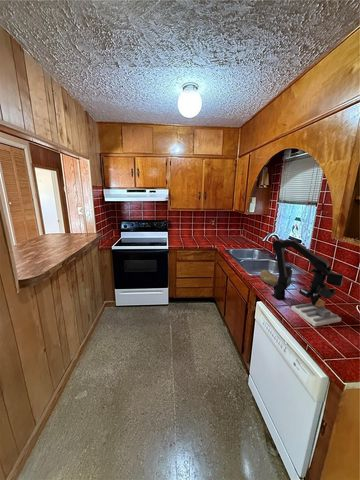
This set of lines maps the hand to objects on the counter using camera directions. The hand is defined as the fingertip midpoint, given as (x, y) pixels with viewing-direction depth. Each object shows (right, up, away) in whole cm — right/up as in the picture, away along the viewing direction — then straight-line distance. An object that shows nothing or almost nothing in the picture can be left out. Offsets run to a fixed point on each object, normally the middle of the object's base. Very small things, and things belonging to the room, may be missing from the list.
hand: (313, 304), depth 116 cm
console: (-1, -5, -3) cm, 6 cm away
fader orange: (+3, -1, +1) cm, 4 cm away
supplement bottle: (+5, +6, +39) cm, 40 cm away
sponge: (-10, +5, +37) cm, 38 cm away
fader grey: (0, -4, -8) cm, 9 cm away
